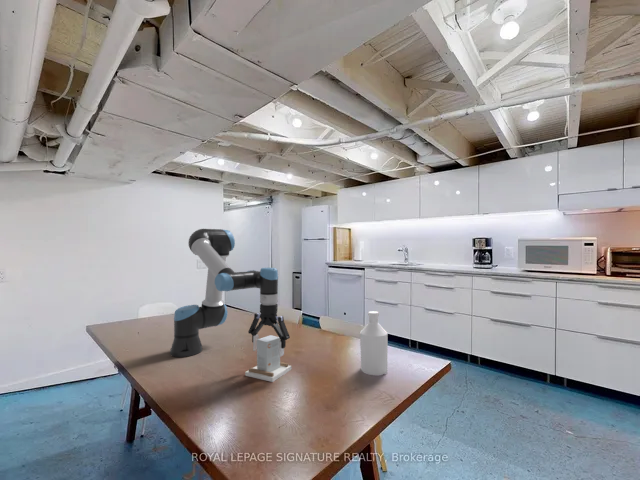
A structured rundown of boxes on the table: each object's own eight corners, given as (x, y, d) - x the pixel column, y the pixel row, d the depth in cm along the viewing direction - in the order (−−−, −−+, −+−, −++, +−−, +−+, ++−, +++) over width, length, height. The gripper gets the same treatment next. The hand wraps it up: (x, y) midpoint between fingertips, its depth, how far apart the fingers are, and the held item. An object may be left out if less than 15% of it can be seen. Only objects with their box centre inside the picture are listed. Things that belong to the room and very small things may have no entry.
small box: (270, 364, 133) (270, 334, 133) (280, 367, 129) (280, 337, 129) (256, 369, 126) (256, 339, 127) (266, 373, 122) (266, 341, 123)
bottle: (389, 366, 133) (388, 310, 134) (386, 377, 122) (385, 316, 122) (363, 363, 137) (362, 308, 137) (358, 373, 125) (357, 314, 126)
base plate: (245, 375, 124) (245, 369, 124) (265, 363, 137) (265, 358, 137) (272, 382, 118) (272, 375, 118) (291, 369, 131) (291, 363, 131)
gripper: (240, 302, 131) (240, 350, 130) (288, 308, 119) (287, 361, 119) (251, 299, 137) (251, 345, 137) (297, 304, 126) (297, 354, 126)
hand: (268, 352), depth 128 cm, fingers open, 13 cm apart
